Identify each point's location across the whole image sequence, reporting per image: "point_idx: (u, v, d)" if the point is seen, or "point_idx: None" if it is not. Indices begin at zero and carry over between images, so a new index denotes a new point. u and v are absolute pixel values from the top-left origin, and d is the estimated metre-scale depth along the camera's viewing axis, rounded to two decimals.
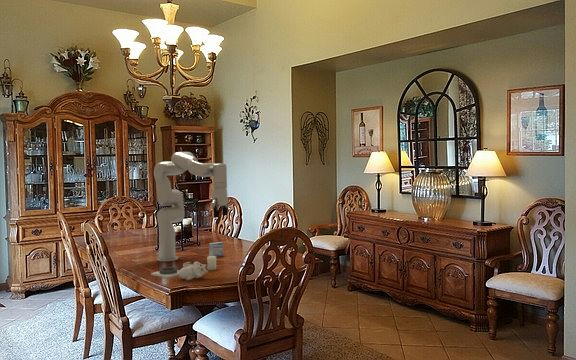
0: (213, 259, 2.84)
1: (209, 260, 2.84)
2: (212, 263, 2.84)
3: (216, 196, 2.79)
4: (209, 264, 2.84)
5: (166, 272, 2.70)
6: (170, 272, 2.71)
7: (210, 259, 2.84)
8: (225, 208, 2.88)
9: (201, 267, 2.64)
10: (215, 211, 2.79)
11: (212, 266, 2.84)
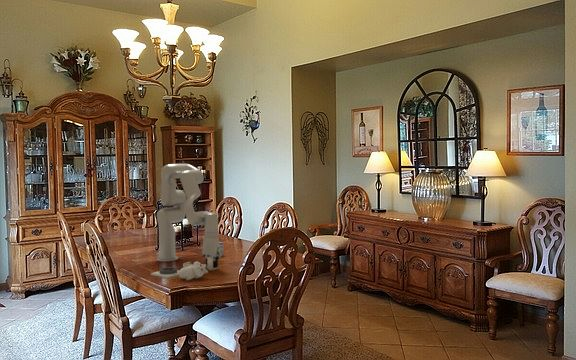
0: (213, 259, 2.84)
1: (209, 260, 2.84)
2: (212, 263, 2.84)
3: (218, 245, 2.83)
4: (209, 264, 2.84)
5: (166, 272, 2.70)
6: (170, 272, 2.71)
7: (210, 259, 2.84)
8: None
9: (201, 267, 2.64)
10: (216, 261, 2.84)
11: (212, 266, 2.84)
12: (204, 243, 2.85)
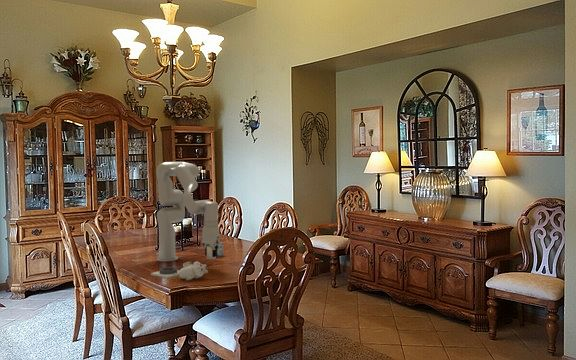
0: (212, 248, 2.84)
1: (208, 249, 2.84)
2: (211, 252, 2.84)
3: (218, 234, 2.83)
4: (208, 253, 2.84)
5: (166, 272, 2.70)
6: (170, 272, 2.71)
7: (209, 248, 2.84)
8: None
9: (201, 267, 2.64)
10: (216, 250, 2.84)
11: (211, 255, 2.84)
12: (204, 232, 2.85)
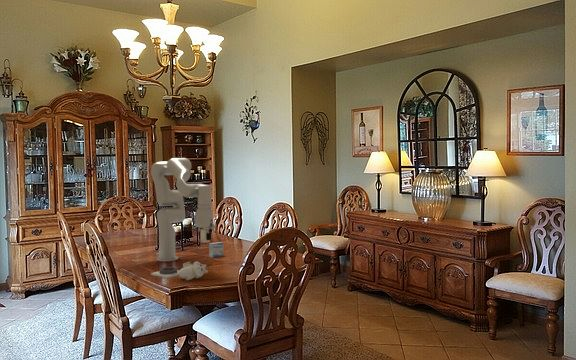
0: (206, 231, 2.81)
1: (202, 232, 2.81)
2: (205, 236, 2.81)
3: (211, 217, 2.81)
4: (202, 236, 2.81)
5: (166, 272, 2.70)
6: (170, 272, 2.71)
7: (203, 231, 2.81)
8: None
9: (201, 267, 2.64)
10: (210, 234, 2.81)
11: (205, 238, 2.81)
12: (197, 215, 2.82)
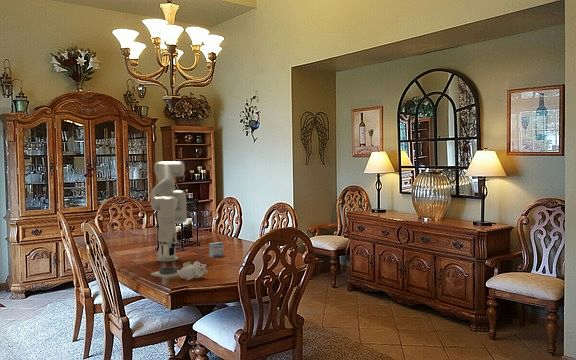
0: (169, 246, 2.71)
1: (165, 247, 2.71)
2: (168, 251, 2.71)
3: (174, 231, 2.71)
4: (165, 251, 2.71)
5: (166, 272, 2.70)
6: (170, 272, 2.71)
7: (166, 246, 2.71)
8: None
9: (201, 267, 2.64)
10: (172, 249, 2.71)
11: (168, 253, 2.71)
12: (160, 230, 2.73)
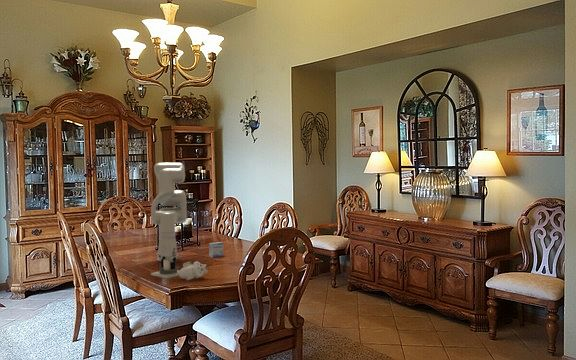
0: (169, 262, 2.72)
1: (165, 263, 2.72)
2: (168, 266, 2.72)
3: (174, 246, 2.71)
4: (165, 267, 2.72)
5: (166, 272, 2.70)
6: (170, 272, 2.71)
7: (166, 262, 2.72)
8: None
9: (201, 267, 2.64)
10: (174, 262, 2.72)
11: (168, 269, 2.72)
12: (160, 244, 2.73)
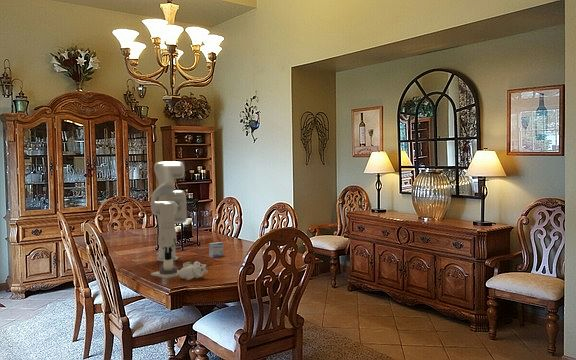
0: (169, 262, 2.72)
1: (165, 263, 2.72)
2: (168, 266, 2.72)
3: (174, 236, 2.71)
4: (165, 267, 2.72)
5: (166, 272, 2.70)
6: (170, 272, 2.71)
7: (166, 262, 2.72)
8: None
9: (201, 267, 2.64)
10: (169, 253, 2.73)
11: (168, 269, 2.72)
12: (160, 234, 2.73)
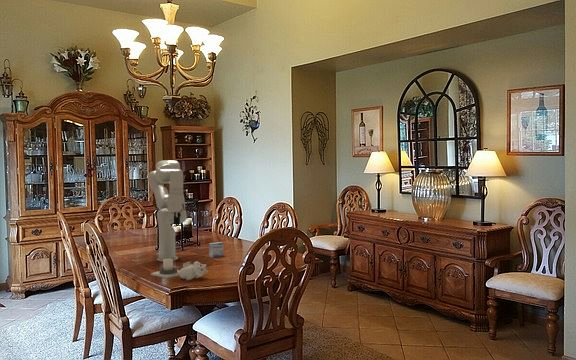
0: (169, 262, 2.72)
1: (165, 263, 2.72)
2: (168, 266, 2.72)
3: (183, 202, 2.85)
4: (165, 267, 2.73)
5: (166, 272, 2.70)
6: (170, 272, 2.71)
7: (166, 262, 2.72)
8: None
9: (201, 267, 2.64)
10: (178, 218, 2.87)
11: (167, 269, 2.72)
12: (169, 200, 2.87)
